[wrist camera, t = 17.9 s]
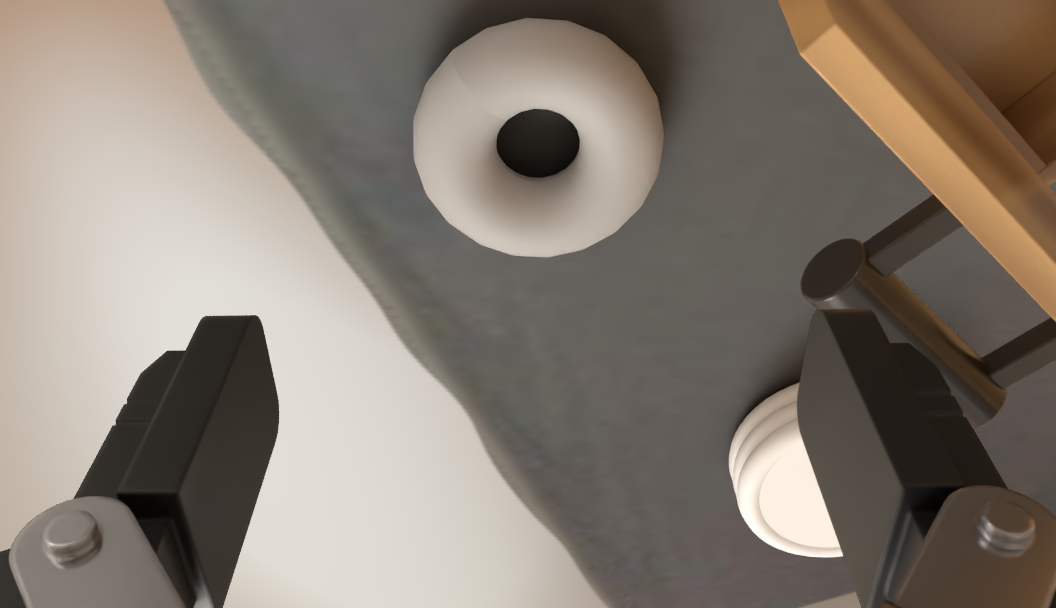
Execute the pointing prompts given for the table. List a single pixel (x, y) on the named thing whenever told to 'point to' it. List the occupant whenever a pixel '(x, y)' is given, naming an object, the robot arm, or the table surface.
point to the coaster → (780, 480)
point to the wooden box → (999, 64)
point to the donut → (538, 83)
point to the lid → (959, 197)
